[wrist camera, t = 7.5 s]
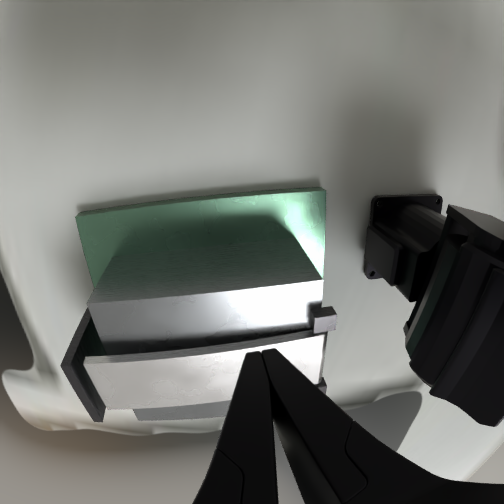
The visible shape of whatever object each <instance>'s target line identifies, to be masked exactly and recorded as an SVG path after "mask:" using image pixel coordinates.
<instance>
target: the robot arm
mask: <svg viewBox="0 0 504 504" xmlns="http://www.w3.org/2000/svg"><path fill="white" fill-rule="evenodd" d="M436 200H437V202H436ZM378 201H380V205H379V206H377V202H378ZM442 202H443V199H442V197H441V196H440V195H438V194H416V195H385V196H375V197H374V198H373V199H372V202H371V213H370V225H369V226H368V228H367V239H366V249H365V259H366V264H365V276H366V277H367V278H368V279H378V278H384V279H385V280H386V281H387V282H388V284H389V285H390V286H396V288H397V289H398V290H399V291H400V292H401V293H402V294H403V295H404V296H405V297H406V298H407V299H408V301H409V302H415V301H417V302H416V304H415V306H414V309H413V311H412V313H411V316H410V318H409V320H408V321H406V323H405V326H404V328H403V329H404V333H405V336H406V338H405V347H406V350H407V352H408V354H409V357H410V359H411V361H410V362H409V365H410V367H411V369H412V370H413V371H414V372H415V373H416V375H417V376H418V377H419V378H420V379H421V380H422V381H423V382H424V383H426V384H427V385H428V386H430V387H431V390H430V391H429V393H430V395H432V396H435V397H438V398H441V399H444V400H447V401H448V402H450V403H452V404H454V405H456V406H458V407H459V408H460V409H462V410H463V411H465V412H466V413H467V414H468V415H469V416H470V417H472V418H473V419H474V420H475V421H476V422H478V423H479V424H482V425H487V426H492V427H495V426H498V425H499V423H500V422H501V421H502V420H503V419H504V222H503V221H501V220H499V219H497V218H495V217H493V216H491V215H487V214H484V213H480V212H477V211H473V210H469V209H465V208H462V207H458V206H454V205H450V204H448V208H447V211H446V213H447V217H445V216H443V215H441V209H442ZM371 271H373V272H372V273H371V274H370V272H371ZM273 422H274V425H275V428H276V430H277V433H278V436H279V439H280V441H281V444H282V447H283V449H284V452H285V454H286V457H287V460H288V462H289V465H290V467H291V470H292V473H293V475H294V478H295V480H296V483H297V485H298V488H299V490H300V493H301V495H302V498H303V500H304V503H305V504H504V484H489V483H474V482H463V481H454V480H448V479H444V478H441V477H438V476H436V475H434V474H432V473H430V472H428V471H426V470H425V469H423V468H421V467H420V466H418V465H416V464H415V463H413V462H411V461H410V460H408V459H406V458H405V457H403V456H402V455H400V454H398V453H397V452H395V451H393V450H392V449H391V448H389V447H388V446H386V445H385V444H383V443H382V442H380V441H379V440H377V439H376V438H375V437H374V436H373V435H371V434H370V433H369V432H368V431H366V430H365V429H364V428H362V426H360V425H359V424H358V423H357V422H356V421H353V419H352V418H351V417H350V416H349V415H348V414H347V413H346V412H344V411H343V410H342V409H341V408H340V407H339V406H338V405H337V404H335V403H334V402H333V401H332V400H331V399H330V398H329V397H328V396H327V395H326V394H324V393H323V392H322V391H321V390H320V389H319V388H318V387H317V386H316V385H315V384H314V383H312V382H311V381H310V380H309V379H308V378H307V377H306V376H305V375H304V374H303V373H302V372H301V371H300V370H298V369H297V368H296V367H295V366H294V365H293V364H292V363H291V362H290V361H289V360H288V359H287V358H286V357H285V356H284V355H283V354H282V353H281V352H279V351H278V350H277V349H276V348H270V349H264V350H262V351H261V352H260V351H253V352H247V353H246V354H245V357H244V360H243V363H242V366H241V370H240V373H239V376H238V379H237V383H236V386H235V389H234V392H233V395H232V399H231V402H230V405H229V408H228V411H227V415H226V418H225V421H224V424H223V427H222V430H221V433H220V437H219V440H218V443H217V446H216V448H217V449H215V451H214V455H213V458H212V461H211V463H210V466H209V469H208V471H207V474H206V477H205V479H204V481H203V483H202V485H201V488H200V489H199V492H198V494H197V496H196V498H195V499H194V501H193V503H192V504H279V501H278V486H277V471H276V457H275V442H274V429H273Z"/></svg>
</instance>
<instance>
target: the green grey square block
mask: <svg viewBox="0 0 504 504" xmlns="http://www.w3.org/2000/svg"><path fill="white" fill-rule="evenodd" d="M75 218H76V222H77V227H78V231H79V235H80V239H81V243H82V247H83V250H84V254H85V258H86V261H87V265H88V268H89V272H90V275H91V279H92V282H93V285H94V288H95V289H94V291H93V293H92V295H91V296H90V298H89V300H88V302H87V305H88V307H87V309H86V311H85V313H84V315H83V317H82V319H81V321H80V324H79V326H78V328H77V330H76V332H75V334H74V336H73V338H72V341H71V343H70V345H69V347H68V349H67V352H66V354H65V356H64V359H63V361H62V363H61V368H62V370H63V371H64V373H65V375H66V377H67V378H68V380H69V382H70V384H71V385H72V387H73V389H74V391H75V392H76V394H77V396H78V397H79V399H80V400H81V402H82V404H83V405H84V407H85V408H86V410H87V412H88V413H89V415H90V416H91V418H92V419H93V421H94V422H103V418H104V413H105V409H106V406H105V404H104V402H103V400H102V399H101V397H100V395H99V393H98V391H97V390H96V388H95V386H94V384H93V382H92V380H91V378H90V376H89V374H88V373H87V371H86V369H85V367H84V365H83V364H84V360H85V357H92V356H111V355H126V354H139V353H151V352H162V351H172V350H181V349H190V348H199V347H207V346H215V345H222V344H229V343H236V342H243V341H250V340H256V339H262V338H268V337H274V336H280V335H286V334H292V333H297V332H302V331H308V330H312V331H313V333H320V332H326V331H332V330H335V328H336V320H337V314H336V312H335V310H334V309H333V307H332V306H329V307H323V308H321V306H322V293H323V265H324V245H325V220H326V190H325V189H323V188H322V187H311V188H294V189H279V190H265V191H253V192H241V193H230V194H219V195H209V196H199V197H190V198H181V199H172V200H164V201H156V202H148V203H140V204H133V205H126V206H119V207H112V208H105V209H98V210H92V211H86V212H80V213H79V214H78V215H77V216H76V217H75ZM315 385H316V386H317V387H318V388H319V389H320V390H321V391H322V392H323V393H324V394H326V388H327V385H326V382H325V380H324V378H323V377H322V380H321V382H320V383H318V384H315ZM230 402H231V400H227V401H220V402H212V403H203V404H194V405H184V406H173V407H159V408H142V409H133V411H134V413H135V415H136V417H137V419H138V420H139V421H143V420H182V419H199V418H212V417H224V416H226V415H227V411H228V408H229V405H230Z"/></svg>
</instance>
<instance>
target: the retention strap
mask: <svg viewBox="0 0 504 504" xmlns="http://www.w3.org/2000/svg"><path fill="white" fill-rule="evenodd" d="M327 333H328V331H326V332H320V333H313V331H312V330H308V331H302V332H297V333H292V334H286V335H280V336H274V337H268V338H262V339H256V340H250V341H243V342H236V343H229V344H222V345H215V346H207V347H199V348H190V349H181V350H172V351H162V352H151V353H139V354H126V355H111V356H92V357H85V360H84V364H83V365H84V367H85V369H86V371H87V373H88V374H89V376H90V378H91V380H92V382H93V384H94V386H95V388H96V390H97V391H98V393H99V395H100V397H101V399H102V400H103V402H104V404H105V406H106V407H107V409H108V410H111V409H142V408H159V407H173V406H184V405H194V404H203V403H212V402H220V401H227V400H231V399H232V395H233V392H234V389H235V386H236V383H237V379H238V376H239V373H240V370H241V366H242V363H243V360H244V357H245V354H246V353H247V352H253V351H260V352H261V351H262V350H264V349H270V348H276V349H277V350H278V351H279V352H281V353H282V354H283V355H284V356H285V357H286V358H287V359H288V360H289V361H290V362H291V363H292V364H293V365H294V366H295V367H296V368H297V369H298V370H300V371H301V372H302V373H303V374H304V375H305V376H306V377H307V378H308V379H309V380H310V381H311V382H312V383H314V384H318V383H320V382H321V380H322V372H323V365H324V358H325V350H326V341H327Z"/></svg>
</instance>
